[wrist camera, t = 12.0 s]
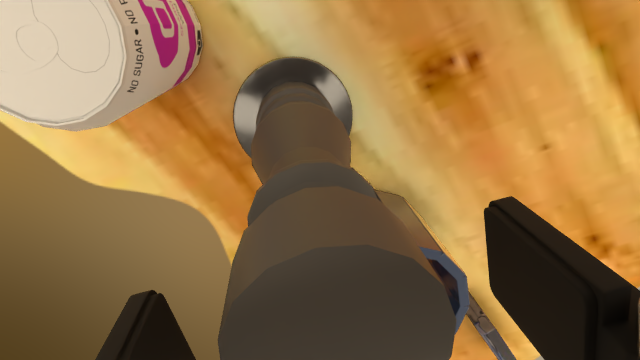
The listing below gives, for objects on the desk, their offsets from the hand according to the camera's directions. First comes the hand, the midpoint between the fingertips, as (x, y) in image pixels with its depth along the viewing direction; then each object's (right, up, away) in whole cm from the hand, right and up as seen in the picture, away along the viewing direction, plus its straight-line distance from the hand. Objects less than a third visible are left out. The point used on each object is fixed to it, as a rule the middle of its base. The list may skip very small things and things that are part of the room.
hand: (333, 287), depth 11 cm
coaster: (-3, +8, +22) cm, 24 cm away
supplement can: (-13, +14, +19) cm, 27 cm away
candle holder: (-3, +8, +22) cm, 23 cm away
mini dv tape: (+17, -12, +33) cm, 39 cm away
